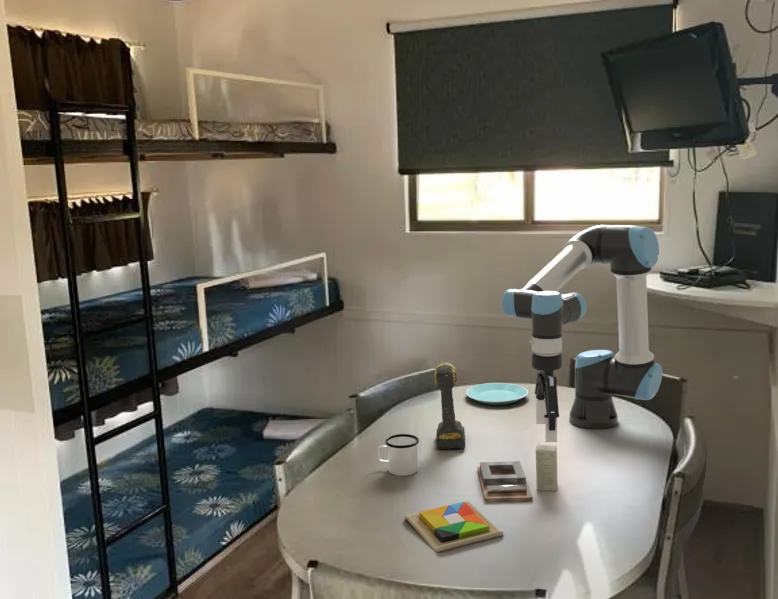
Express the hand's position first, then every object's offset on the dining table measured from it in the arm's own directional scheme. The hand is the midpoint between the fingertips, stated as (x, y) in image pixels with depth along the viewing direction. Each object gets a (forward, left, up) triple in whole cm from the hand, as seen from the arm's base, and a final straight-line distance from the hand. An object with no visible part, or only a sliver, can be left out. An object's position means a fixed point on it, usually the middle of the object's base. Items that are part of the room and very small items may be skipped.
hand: (546, 432), depth 200 cm
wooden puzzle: (+26, +21, -16) cm, 37 cm away
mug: (+39, -14, -15) cm, 44 cm away
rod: (+11, +4, -15) cm, 19 cm away
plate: (+4, -76, -16) cm, 78 cm away
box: (0, 0, -15) cm, 15 cm away
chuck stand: (+11, -2, -15) cm, 19 cm away
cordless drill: (+23, -36, -15) cm, 45 cm away
